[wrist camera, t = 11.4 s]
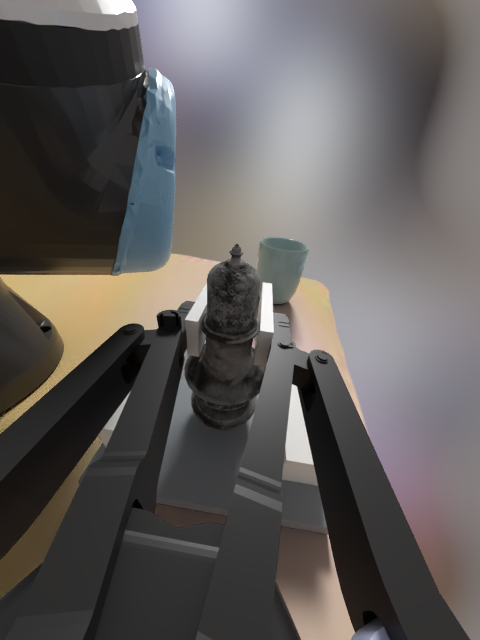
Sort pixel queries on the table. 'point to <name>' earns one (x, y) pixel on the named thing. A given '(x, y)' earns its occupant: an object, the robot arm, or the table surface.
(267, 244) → the cup
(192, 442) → the rail board
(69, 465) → the robot arm
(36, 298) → the table surface
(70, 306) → the table surface
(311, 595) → the table surface
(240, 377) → the salt shaker
